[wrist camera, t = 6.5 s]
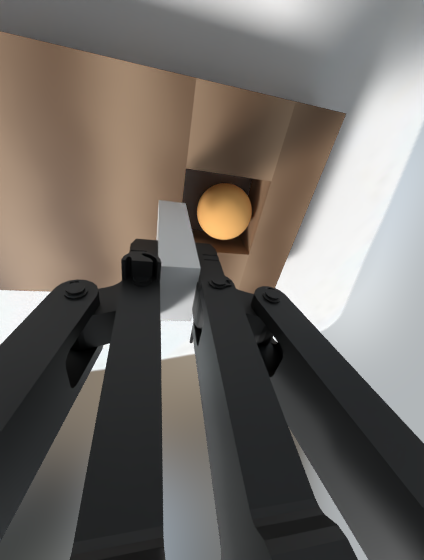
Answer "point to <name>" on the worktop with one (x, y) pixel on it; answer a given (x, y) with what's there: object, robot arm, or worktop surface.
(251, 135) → the wooden block with hole
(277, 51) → the worktop surface
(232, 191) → the ball
